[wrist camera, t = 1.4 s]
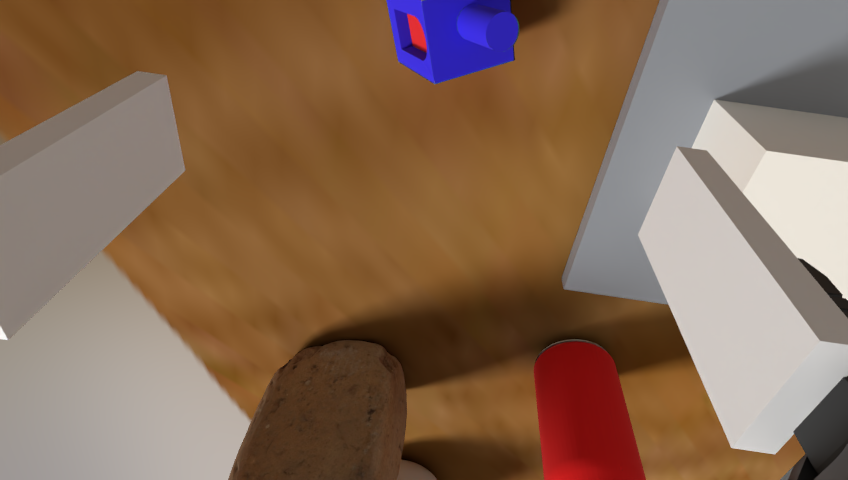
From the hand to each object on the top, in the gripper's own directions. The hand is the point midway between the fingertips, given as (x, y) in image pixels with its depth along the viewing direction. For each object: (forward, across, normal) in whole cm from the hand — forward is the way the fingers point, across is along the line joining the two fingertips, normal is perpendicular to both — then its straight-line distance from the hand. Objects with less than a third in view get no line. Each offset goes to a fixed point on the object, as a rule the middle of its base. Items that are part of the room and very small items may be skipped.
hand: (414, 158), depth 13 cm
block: (+16, -5, -29) cm, 33 cm away
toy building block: (+16, 0, 0) cm, 16 cm away
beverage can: (+16, +13, -24) cm, 31 cm away
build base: (+16, +18, -6) cm, 25 cm away
